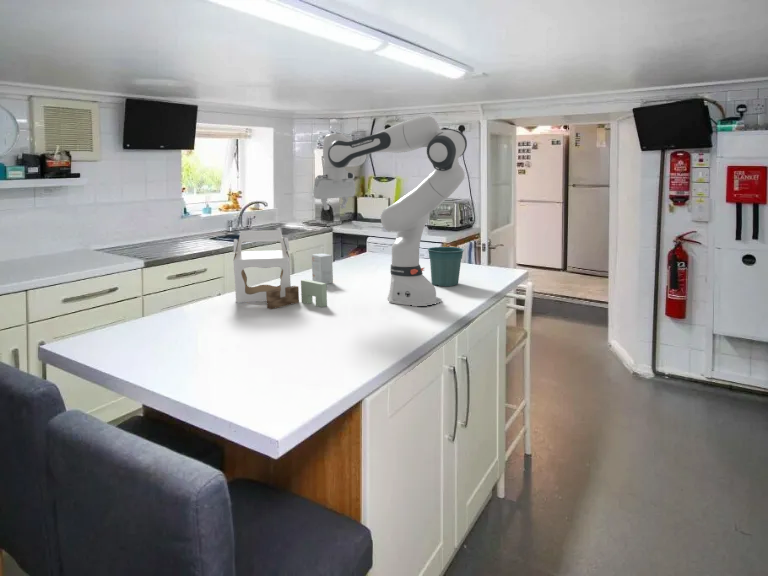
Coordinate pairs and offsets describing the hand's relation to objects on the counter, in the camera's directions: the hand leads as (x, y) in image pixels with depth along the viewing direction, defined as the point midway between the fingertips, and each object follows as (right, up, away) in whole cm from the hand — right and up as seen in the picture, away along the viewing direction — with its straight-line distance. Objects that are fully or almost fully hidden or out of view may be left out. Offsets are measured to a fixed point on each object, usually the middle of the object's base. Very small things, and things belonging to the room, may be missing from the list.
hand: (335, 209), depth 238 cm
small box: (-8, -30, +31) cm, 44 cm away
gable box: (-30, -37, +3) cm, 47 cm away
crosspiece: (-8, -39, -8) cm, 40 cm away
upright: (-20, -39, -10) cm, 45 cm away
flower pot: (+48, -31, +27) cm, 63 cm away
